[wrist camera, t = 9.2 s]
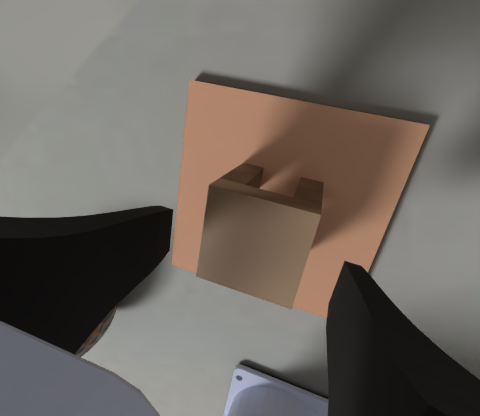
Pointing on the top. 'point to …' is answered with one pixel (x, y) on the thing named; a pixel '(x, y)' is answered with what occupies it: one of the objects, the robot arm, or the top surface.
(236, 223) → the notched brown block
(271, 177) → the mat
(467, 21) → the top surface
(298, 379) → the top surface
